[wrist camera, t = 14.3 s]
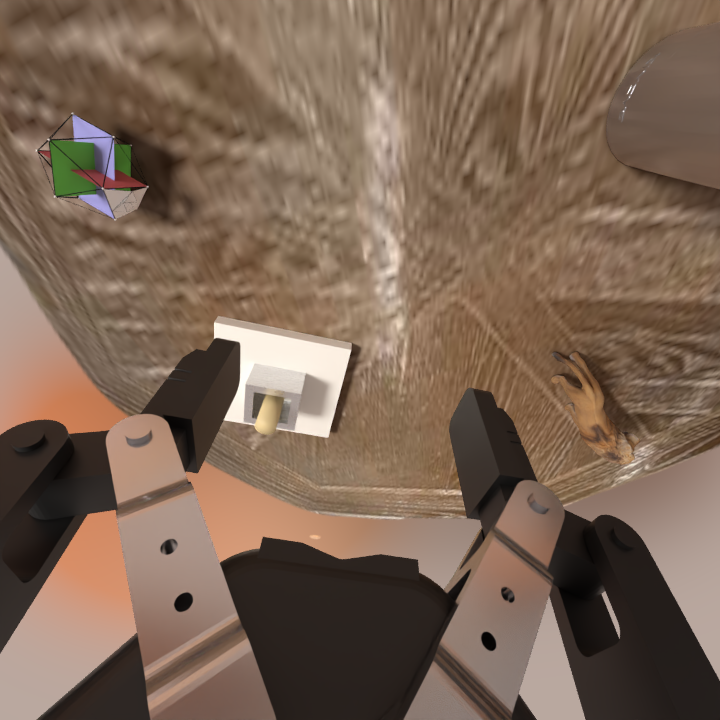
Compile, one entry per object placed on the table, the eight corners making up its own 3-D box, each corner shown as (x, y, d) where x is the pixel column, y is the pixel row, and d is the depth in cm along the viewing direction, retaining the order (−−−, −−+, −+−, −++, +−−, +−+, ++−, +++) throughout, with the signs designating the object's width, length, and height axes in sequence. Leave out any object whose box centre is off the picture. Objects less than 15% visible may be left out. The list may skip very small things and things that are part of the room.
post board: (351, 343, 43) (348, 388, 36) (328, 429, 53) (323, 479, 46) (218, 315, 41) (188, 358, 34) (219, 411, 51) (196, 459, 44)
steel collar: (306, 372, 44) (301, 394, 41) (299, 408, 48) (294, 430, 45) (254, 363, 43) (245, 384, 40) (251, 400, 47) (243, 422, 44)
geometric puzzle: (39, 183, 31) (47, 224, 27) (27, 92, 27) (34, 125, 23) (134, 198, 36) (153, 235, 32) (135, 122, 32) (156, 154, 28)
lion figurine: (612, 406, 49) (655, 460, 42) (574, 424, 51) (608, 477, 44) (571, 338, 42) (613, 388, 35) (529, 361, 45) (560, 412, 37)
